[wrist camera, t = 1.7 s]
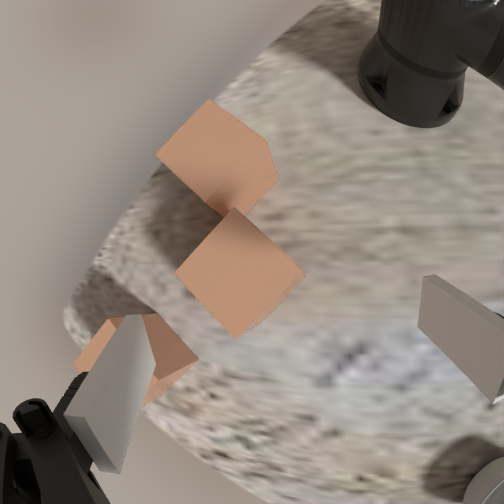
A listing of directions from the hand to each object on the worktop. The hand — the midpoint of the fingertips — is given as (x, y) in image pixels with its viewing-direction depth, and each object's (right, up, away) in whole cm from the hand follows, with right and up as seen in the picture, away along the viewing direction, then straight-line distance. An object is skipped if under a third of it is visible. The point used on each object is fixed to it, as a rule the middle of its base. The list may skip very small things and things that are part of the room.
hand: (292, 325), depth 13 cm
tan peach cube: (-13, -10, +23) cm, 28 cm away
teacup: (+34, -29, +11) cm, 46 cm away
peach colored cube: (-4, +12, +24) cm, 27 cm away
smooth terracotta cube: (-1, 0, +22) cm, 22 cm away
